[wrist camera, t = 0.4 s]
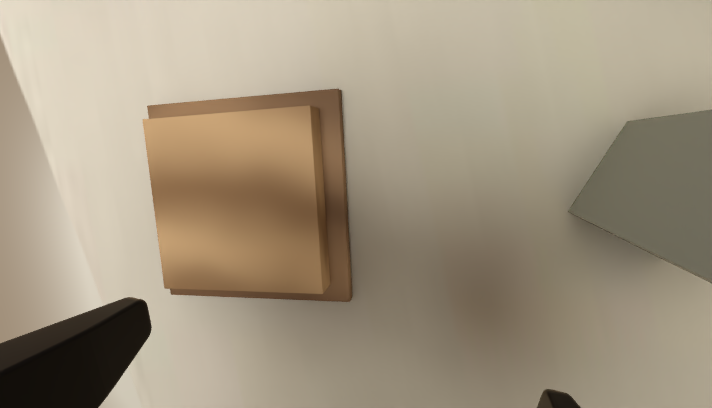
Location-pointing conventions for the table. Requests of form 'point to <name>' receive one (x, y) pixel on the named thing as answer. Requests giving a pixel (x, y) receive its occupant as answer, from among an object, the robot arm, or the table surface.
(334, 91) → the walnut base slab
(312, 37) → the table surface
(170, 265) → the oak top slab
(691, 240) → the slate block
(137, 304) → the robot arm
